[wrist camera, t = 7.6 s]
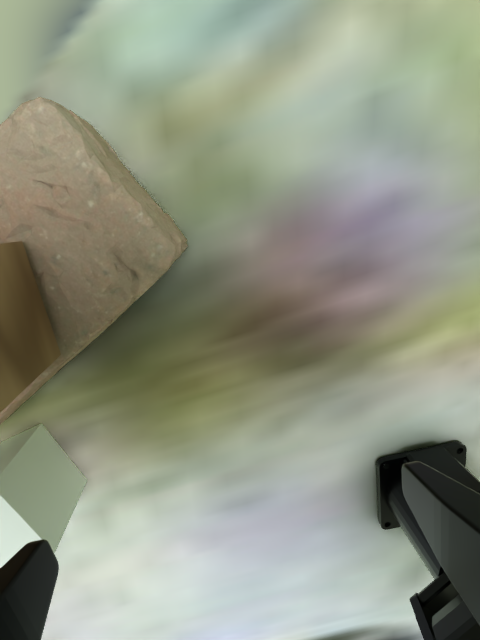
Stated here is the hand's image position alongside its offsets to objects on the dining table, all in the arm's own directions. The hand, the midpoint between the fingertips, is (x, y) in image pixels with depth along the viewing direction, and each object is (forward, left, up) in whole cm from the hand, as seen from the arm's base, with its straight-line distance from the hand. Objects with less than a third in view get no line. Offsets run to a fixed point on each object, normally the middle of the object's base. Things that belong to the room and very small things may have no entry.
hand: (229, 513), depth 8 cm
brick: (+5, +9, -13) cm, 16 cm away
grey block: (-6, +13, -12) cm, 19 cm away
